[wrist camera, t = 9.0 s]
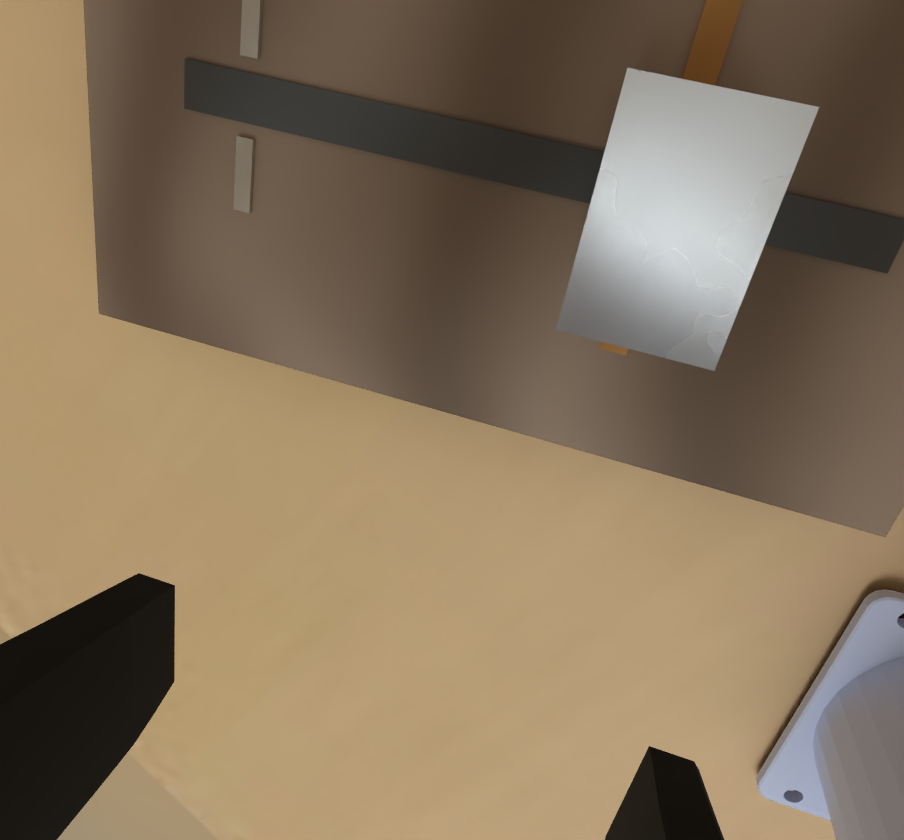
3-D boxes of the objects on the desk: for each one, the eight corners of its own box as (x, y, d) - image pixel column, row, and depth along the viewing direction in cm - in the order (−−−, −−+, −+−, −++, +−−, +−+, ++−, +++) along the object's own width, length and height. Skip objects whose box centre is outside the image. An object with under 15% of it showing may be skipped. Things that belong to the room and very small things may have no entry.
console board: (1200, -93, 11) (1283, -123, 10) (865, 503, 17) (887, 540, 15) (122, -262, 14) (64, -304, 12) (135, 299, 19) (95, 314, 18)
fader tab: (761, 107, 12) (819, 106, 8) (692, 298, 14) (714, 371, 10) (629, 80, 13) (627, 67, 9) (577, 269, 14) (555, 329, 10)
